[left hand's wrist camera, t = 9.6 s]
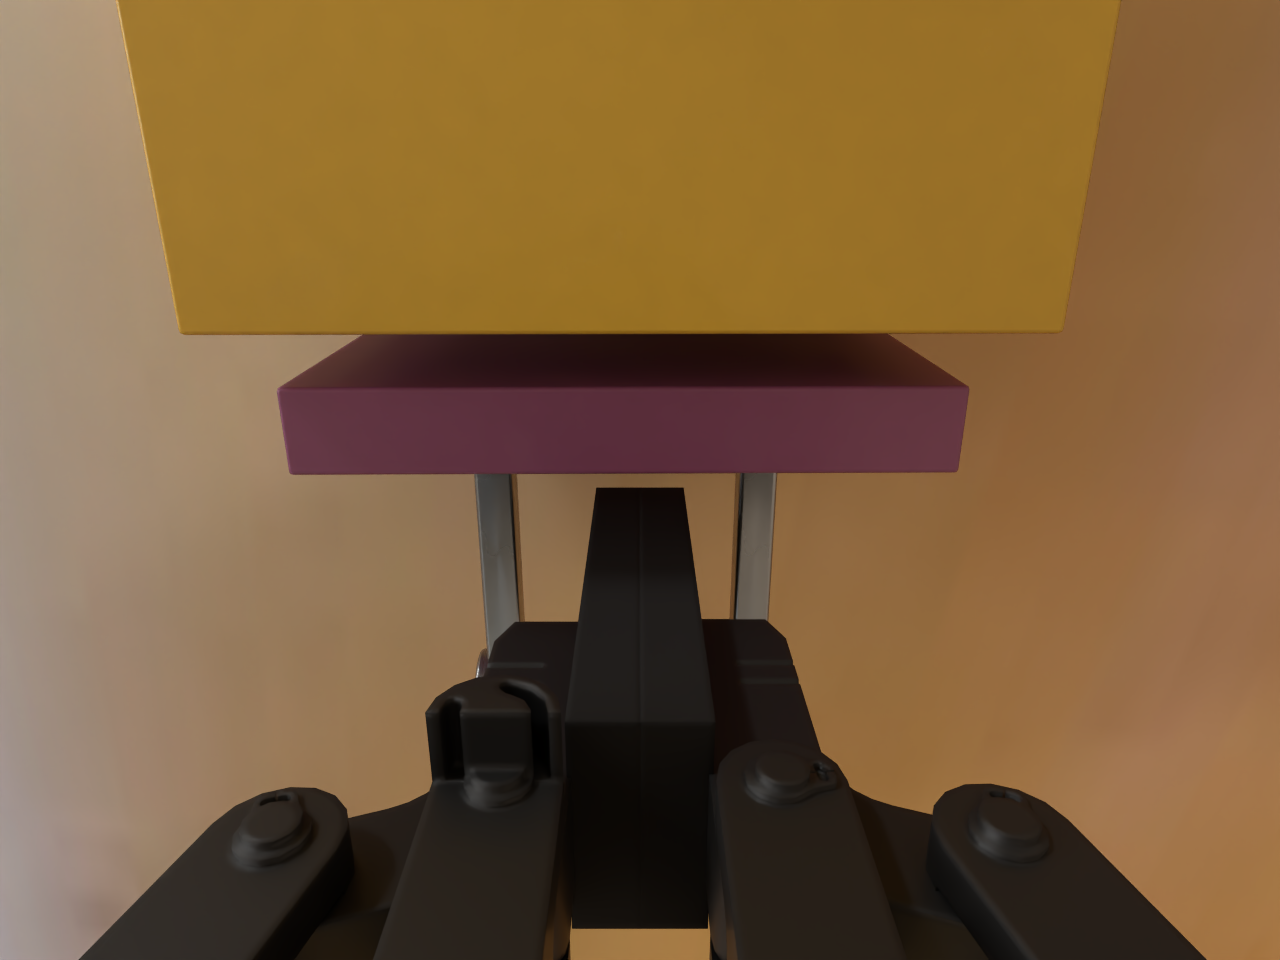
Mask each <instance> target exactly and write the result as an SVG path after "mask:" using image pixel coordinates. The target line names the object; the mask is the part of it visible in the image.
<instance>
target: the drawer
mask: <svg viewBox="0 0 1280 960" xmlns="http://www.w3.org/2000/svg"><path fill="white" fill-rule="evenodd" d="M277 395H278V401H279V408H280V414H281V421H282V427H283V434H284V440H285V447H286V453H287V460H288V466H289V472H290V474H293V475H345V474H474V478H475V491H476V505H477V519H478V532H479V546H480V560H481V573H482V587H483V601H484V614H485V628H486V642H487V649H483V650H482V651H481V653H480V655H479V658H478V663H477V669H476V678H477V677H483V676H484V673H485V670H486V668H487V663H488V660H489V657H490V654H491V650H492V647H493V644H494V641H495V640H496V639H497V638H498V637H499V636H500V635H501V634H502V633H504V632H505V631H506V630H507V629H508V628H509V627H510V626H511V625H512V624H513V623H514V622H525V618H524V599H523V581H522V562H521V544H520V526H519V507H518V489H517V474H627V473H736V478H735V502H734V526H733V549H732V573H731V596H730V619H765V620H767V621H768V616H769V599H770V583H771V566H772V550H773V534H774V517H775V501H776V484H777V473H910V472H957V470H958V466H959V459H960V452H961V445H962V438H963V431H964V423H965V416H966V409H967V402H968V395H969V387H968V386H967V385H965V384H964V383H962V382H961V381H959V380H958V379H956V378H954V377H953V376H951V375H950V374H948V373H947V372H945V371H944V370H942V369H941V368H939V367H938V366H936V365H935V364H933V363H932V362H930V361H928V360H927V359H925V358H924V357H922V356H921V355H919V354H918V353H916V352H915V351H913V350H912V349H910V348H909V347H907V346H906V345H904V344H902V343H901V342H899V341H898V340H896V339H895V338H893V337H892V336H890V335H889V334H382V335H361V336H360V337H358V338H357V339H355V340H354V341H352V342H350V343H349V344H347V345H346V346H344V347H342V348H341V349H339V350H338V351H336V352H335V353H333V354H331V355H330V356H328V357H327V358H325V359H323V360H322V361H320V362H319V363H317V364H316V365H314V366H312V367H311V368H309V369H308V370H306V371H304V372H303V373H301V374H300V375H298V376H297V377H295V378H293V379H292V380H290V381H289V382H287V383H286V384H284V385H282V386H281V387H279V388H278V390H277Z"/></svg>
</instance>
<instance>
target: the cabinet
mask: <svg viewBox="0 0 1280 960" xmlns="http://www.w3.org/2000/svg"><path fill="white" fill-rule="evenodd" d="M1120 4H1121V0H116V5H117V10H118V15H119V20H120V25H121V31H122V36H123V41H124V46H125V52H126V57H127V62H128V67H129V72H130V78H131V83H132V88H133V93H134V99H135V104H136V109H137V114H138V119H139V125H140V130H141V135H142V140H143V146H144V151H145V156H146V161H147V166H148V172H149V177H150V182H151V187H152V193H153V198H154V203H155V208H156V214H157V219H158V224H159V229H160V234H161V240H162V245H163V250H164V255H165V261H166V266H167V271H168V276H169V281H170V287H171V292H172V297H173V302H174V308H175V313H176V318H177V323H178V328H179V331H180V333H181V334H184V335H382V334H915V333H1059V332H1062V330H1063V328H1064V322H1065V317H1066V311H1067V305H1068V300H1069V294H1070V288H1071V283H1072V277H1073V271H1074V266H1075V260H1076V254H1077V249H1078V243H1079V237H1080V231H1081V226H1082V220H1083V214H1084V209H1085V203H1086V197H1087V192H1088V186H1089V180H1090V175H1091V169H1092V163H1093V158H1094V152H1095V146H1096V140H1097V135H1098V129H1099V123H1100V118H1101V112H1102V106H1103V101H1104V95H1105V89H1106V84H1107V78H1108V72H1109V67H1110V61H1111V55H1112V50H1113V44H1114V38H1115V32H1116V27H1117V21H1118V15H1119V10H1120Z"/></svg>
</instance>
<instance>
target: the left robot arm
mask: <svg viewBox="0 0 1280 960" xmlns="http://www.w3.org/2000/svg"><path fill="white" fill-rule="evenodd" d="M425 715H426V724H427V734H428V743H429V753H430V762H431V772H432V781H433V782H432V785H431V788H430V791H429V792H428V793H426V794H424V795H422V796H420V797H418V798H416V799H414V800H412V801H410V802H408V803H405V804H402V805H399V806H395V807H392V808H389V809H385V810H381V811H377V812H373V813H368V814H364V815H360V816H356V817H351V818H348V815H347V809H346V808H345V807H344V805H343V804H342V803H341V802H340V801H339V799H338V798H337V797H336V796H335V795H333V794H330V793H327V792H325V791H322V790H319V789H317V788H298V787H289V788H285V789H280V790H276V791H271V792H267V793H262V794H260V795H258V796H256V797H254V798H251V799H249V800H247V801H245V802H243V803H241V804H238V805H236V806H235V807H233V808H232V809H231V810H229V811H228V812H227V813H226V814H224V815H223V816H222V817H220V818H219V819H218V820H217V821H215V822H214V823H213V824H212V825H211V826H210V827H209V828H208V829H207V830H206V831H205V832H204V833H203V834H202V835H201V836H200V837H199V838H198V839H197V840H196V841H195V842H194V843H193V844H192V845H191V846H190V847H189V848H188V849H187V850H186V851H185V852H184V853H183V854H182V855H181V856H180V857H179V858H178V859H177V860H176V861H175V862H174V863H173V864H172V865H171V866H170V867H169V868H168V869H167V870H166V872H165V873H164V874H163V875H162V876H161V877H160V878H159V879H158V880H157V881H156V882H155V883H154V884H153V885H152V886H151V887H150V888H149V889H148V890H147V891H146V892H145V893H144V894H143V895H142V896H141V897H140V898H139V899H138V900H137V901H136V902H135V903H134V904H133V905H132V906H131V907H130V908H129V909H128V910H127V911H126V912H125V913H124V914H123V915H122V916H121V917H120V918H119V919H118V920H117V921H116V922H115V923H114V924H113V925H112V926H111V927H110V928H109V929H108V930H107V931H106V932H105V934H104V935H103V936H102V937H101V938H100V939H99V940H98V941H97V942H96V943H95V944H94V945H93V946H92V947H91V948H90V949H89V950H88V951H87V952H86V953H85V954H84V955H83V956H82V957H81V958H80V959H79V960H570V929H571V918H572V929H708V913H709V924H710V960H1207V959H1206V958H1205V957H1204V956H1203V955H1202V954H1201V953H1200V952H1199V951H1198V950H1197V949H1196V948H1195V947H1194V946H1193V945H1192V944H1191V943H1190V942H1189V941H1188V940H1187V939H1186V938H1185V937H1184V936H1183V935H1182V934H1181V933H1180V932H1179V931H1178V930H1177V929H1176V928H1175V927H1174V926H1173V925H1172V924H1171V923H1170V922H1169V921H1168V920H1167V919H1166V918H1165V917H1164V916H1163V915H1162V914H1161V913H1160V912H1159V911H1158V910H1157V909H1156V908H1155V907H1154V906H1153V905H1152V904H1151V903H1150V902H1149V901H1148V900H1147V899H1146V898H1145V897H1144V896H1143V895H1142V894H1141V893H1140V892H1139V891H1138V890H1137V889H1136V888H1135V887H1134V886H1133V885H1132V884H1131V883H1130V882H1129V881H1128V880H1127V879H1126V878H1125V877H1124V876H1123V875H1122V874H1121V873H1120V872H1119V871H1118V870H1117V869H1116V868H1115V867H1114V866H1113V865H1112V864H1111V863H1110V862H1109V861H1108V860H1107V859H1106V858H1105V857H1104V856H1103V855H1102V854H1101V853H1100V851H1099V850H1098V849H1097V848H1096V847H1095V846H1094V845H1093V844H1092V843H1091V842H1090V841H1089V840H1088V839H1087V838H1086V837H1085V836H1084V835H1083V834H1082V833H1081V832H1080V831H1079V830H1078V829H1077V828H1076V827H1075V826H1074V825H1073V824H1072V823H1071V822H1070V821H1069V820H1068V819H1066V818H1065V817H1064V816H1063V815H1061V814H1060V813H1059V812H1057V811H1056V810H1055V809H1053V808H1052V807H1051V806H1050V805H1048V804H1047V803H1046V802H1044V801H1042V800H1039V799H1037V798H1035V797H1033V796H1031V795H1028V794H1026V793H1024V792H1022V791H1020V790H1017V789H1012V788H1008V787H1003V786H999V785H994V784H965V785H962V786H960V787H957V788H954V789H952V790H949V791H946V792H945V793H944V794H943V795H942V796H941V798H940V799H939V800H938V801H937V802H936V804H935V805H934V808H933V815H931V814H926V813H922V812H918V811H914V810H909V809H905V808H901V807H897V806H892V805H889V804H886V803H883V802H880V801H877V800H873V799H871V798H869V797H867V796H865V795H863V794H861V793H859V792H857V791H855V790H853V789H852V788H850V787H849V784H848V781H847V779H846V777H845V776H844V774H843V773H842V771H841V769H840V768H839V766H838V765H837V764H836V763H835V762H834V761H832V760H831V759H830V758H828V757H827V756H826V755H824V754H823V753H822V752H821V750H820V747H819V744H818V740H817V737H816V734H815V731H814V728H813V724H812V721H811V718H810V715H809V711H808V708H807V705H806V702H805V699H804V695H803V692H802V689H801V686H800V684H799V679H798V676H797V673H796V670H795V666H794V665H793V660H792V657H791V653H790V650H789V647H788V644H787V641H786V638H785V637H784V636H783V635H782V634H781V633H779V632H778V631H777V630H776V629H775V628H774V627H773V626H772V625H771V624H770V623H769V622H768V621H767V620H765V619H701V612H700V605H699V598H698V590H697V583H696V576H695V568H694V561H693V554H692V546H691V539H690V532H689V524H688V517H687V510H686V502H685V495H684V488H596V495H595V502H594V510H593V517H592V524H591V532H590V539H589V546H588V554H587V561H586V568H585V576H584V583H583V590H582V598H581V605H580V612H579V620H578V622H514V623H513V624H512V625H511V626H510V627H509V628H508V629H507V630H506V631H505V632H504V633H502V634H501V635H500V636H499V637H498V638H497V639H496V640H495V641H494V644H493V647H492V650H491V654H490V657H489V660H488V663H487V668H486V670H485V673H484V676H483V677H477V678H474V679H471V680H468V681H466V682H463V683H460V684H457V685H454V686H453V687H451V688H450V689H448V690H447V691H445V692H444V693H442V694H441V695H439V696H438V697H436V698H435V700H434V701H433V703H432V704H431V705H430V707H429V708H428V710H427V711H426V712H425Z"/></svg>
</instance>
